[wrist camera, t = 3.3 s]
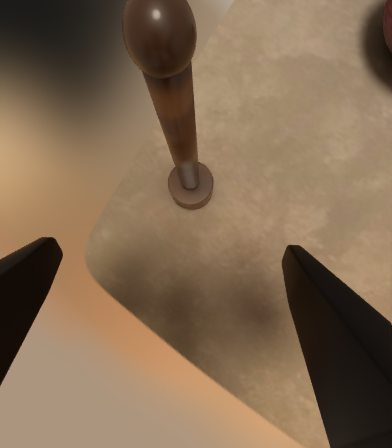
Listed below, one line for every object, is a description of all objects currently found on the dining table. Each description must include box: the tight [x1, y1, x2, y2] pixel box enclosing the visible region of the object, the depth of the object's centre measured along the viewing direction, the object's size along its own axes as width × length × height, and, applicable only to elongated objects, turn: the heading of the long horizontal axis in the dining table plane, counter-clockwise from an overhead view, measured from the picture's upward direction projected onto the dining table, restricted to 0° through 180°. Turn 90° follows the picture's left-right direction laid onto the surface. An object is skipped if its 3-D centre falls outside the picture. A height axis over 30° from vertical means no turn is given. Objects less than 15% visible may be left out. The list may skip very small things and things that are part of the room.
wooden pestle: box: [122, 0, 213, 209], centre depth 13 cm, size 4×4×17 cm
